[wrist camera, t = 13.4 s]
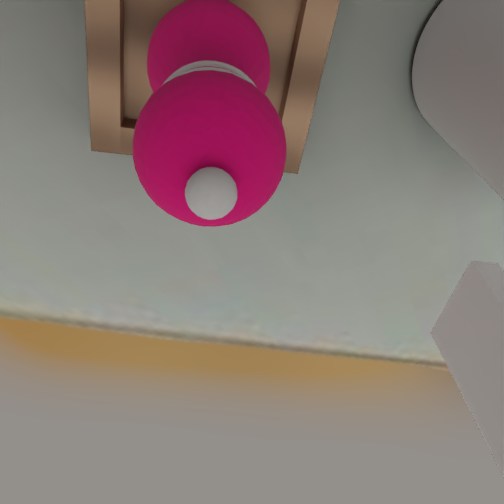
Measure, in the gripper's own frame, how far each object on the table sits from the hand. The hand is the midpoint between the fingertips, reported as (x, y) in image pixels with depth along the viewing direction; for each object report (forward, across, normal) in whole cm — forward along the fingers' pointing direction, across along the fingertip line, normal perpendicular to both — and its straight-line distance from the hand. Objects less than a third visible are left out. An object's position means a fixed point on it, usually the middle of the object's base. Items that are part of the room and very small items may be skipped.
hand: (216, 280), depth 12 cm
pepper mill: (+24, 0, 0) cm, 24 cm away
